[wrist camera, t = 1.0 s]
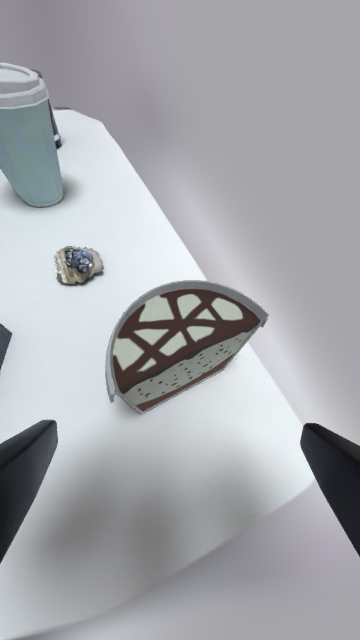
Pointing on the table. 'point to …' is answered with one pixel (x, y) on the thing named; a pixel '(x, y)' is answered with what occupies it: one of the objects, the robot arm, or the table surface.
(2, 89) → the disposable coffee cup
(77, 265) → the crystal geode
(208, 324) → the food container
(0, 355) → the tray
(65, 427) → the table surface
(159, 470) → the table surface
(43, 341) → the table surface
